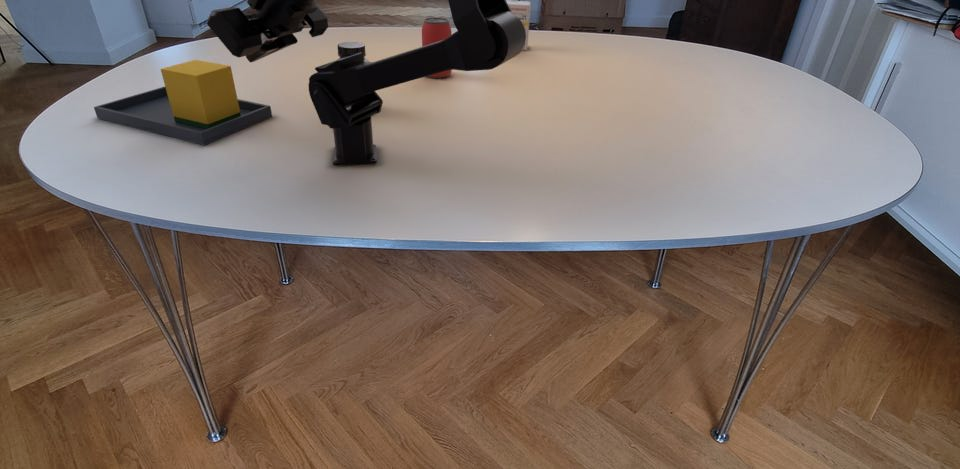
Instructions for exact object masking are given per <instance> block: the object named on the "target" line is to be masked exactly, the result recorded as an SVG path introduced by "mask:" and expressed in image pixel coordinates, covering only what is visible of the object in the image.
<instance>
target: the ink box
mask: <svg viewBox="0 0 960 469" xmlns="http://www.w3.org/2000/svg"><path fill="white" fill-rule="evenodd" d="M506 2H507V4H508V6H509V8H510V10H511V12H512V14H514V15H516V16H517V17H518V18H519V19H520V20H521V22H522V23H523V26H524V28H525V33H526V40H525V45H524V47H523V49H522V51H528V46H529V35H530V34H529V33H530V21H531V6H532V3H531V2H530V1H527V0H526V1H525V0H506Z"/></svg>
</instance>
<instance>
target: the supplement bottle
mask: <svg viewBox="0 0 960 469" xmlns="http://www.w3.org/2000/svg"><path fill="white" fill-rule="evenodd" d="M361 52H362V55H363V60H364V62H370V60H369V59H368V58H366V56H367V52H366V45H365V43H362V42H358V41H344V42H339V43H338V44H337V56H338V58H337V60H339V59H342V58H346V57H349V56H352V55H355V54H358V53H361ZM350 106H352V103H351V104H349V105H347V106H345V108H347V107H350Z"/></svg>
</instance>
